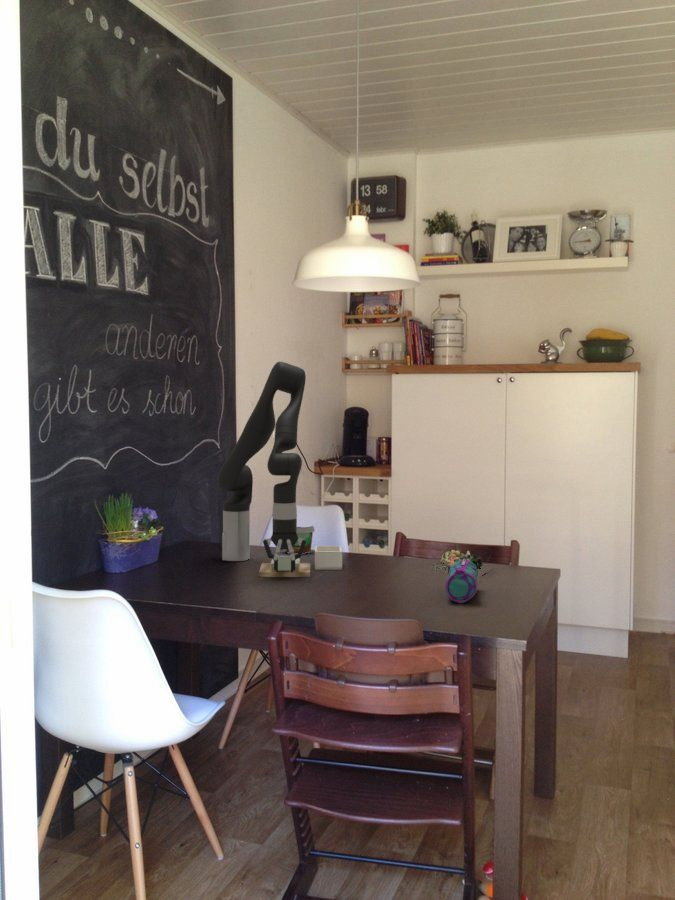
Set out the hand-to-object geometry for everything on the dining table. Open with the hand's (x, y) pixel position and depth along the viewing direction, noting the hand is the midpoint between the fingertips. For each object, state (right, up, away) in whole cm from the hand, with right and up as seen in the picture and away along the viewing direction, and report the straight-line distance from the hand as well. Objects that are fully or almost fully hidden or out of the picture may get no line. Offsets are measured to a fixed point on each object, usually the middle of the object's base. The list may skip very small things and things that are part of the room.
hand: (284, 571), depth 265 cm
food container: (+2, 0, +45) cm, 45 cm away
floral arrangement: (+57, -2, +20) cm, 61 cm away
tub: (+13, -1, +20) cm, 24 cm away
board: (0, -2, +10) cm, 10 cm away
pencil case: (+52, -4, -24) cm, 57 cm away
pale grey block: (0, +1, +7) cm, 7 cm away
